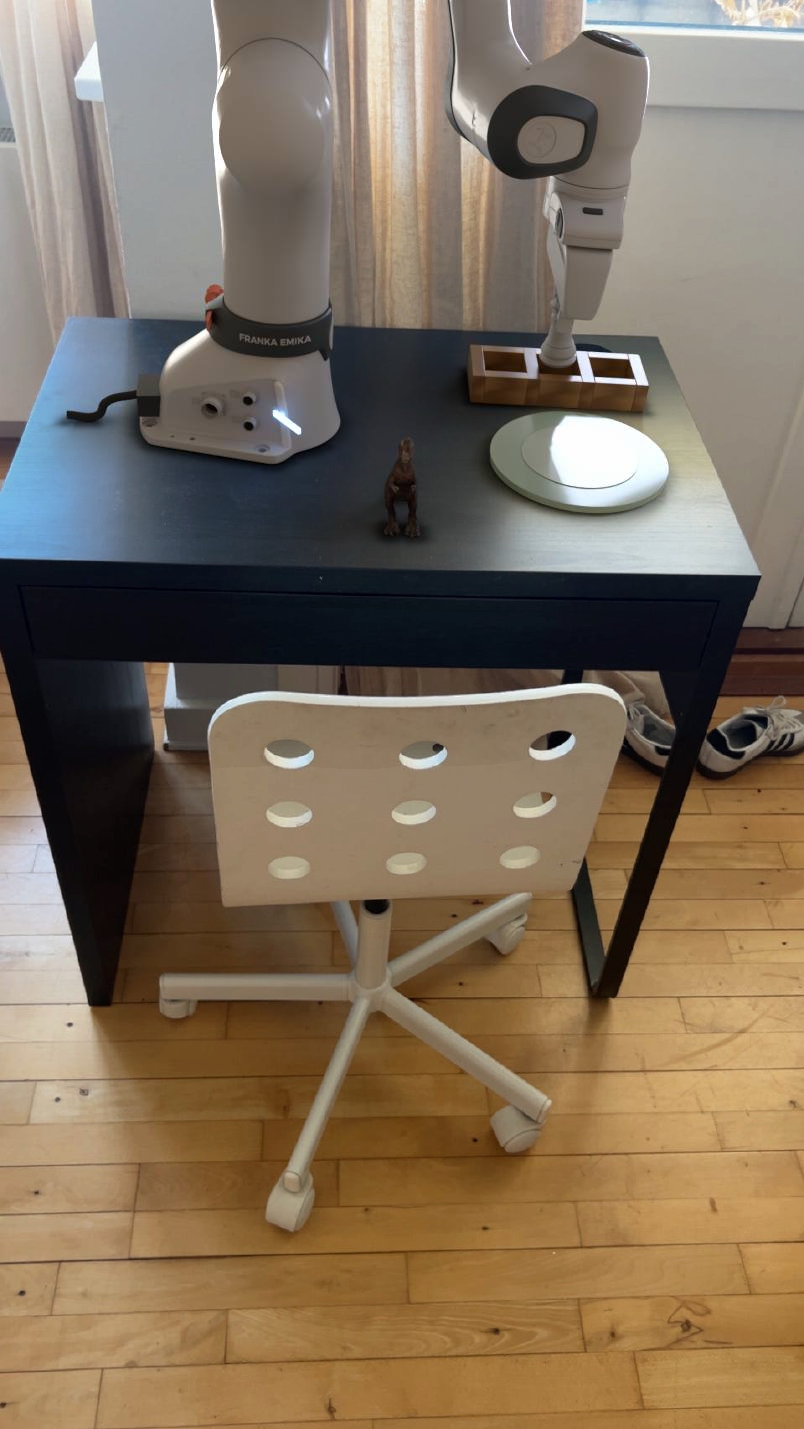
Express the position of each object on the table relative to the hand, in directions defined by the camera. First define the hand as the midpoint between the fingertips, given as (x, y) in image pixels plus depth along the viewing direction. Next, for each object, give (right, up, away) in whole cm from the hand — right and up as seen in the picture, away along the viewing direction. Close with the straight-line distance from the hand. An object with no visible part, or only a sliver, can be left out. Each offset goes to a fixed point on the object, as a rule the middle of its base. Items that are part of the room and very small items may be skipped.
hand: (561, 322), depth 136 cm
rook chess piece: (0, -4, +3) cm, 5 cm away
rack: (0, -6, +6) cm, 9 cm away
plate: (+1, -18, -6) cm, 19 cm away
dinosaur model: (-19, -25, -15) cm, 35 cm away
